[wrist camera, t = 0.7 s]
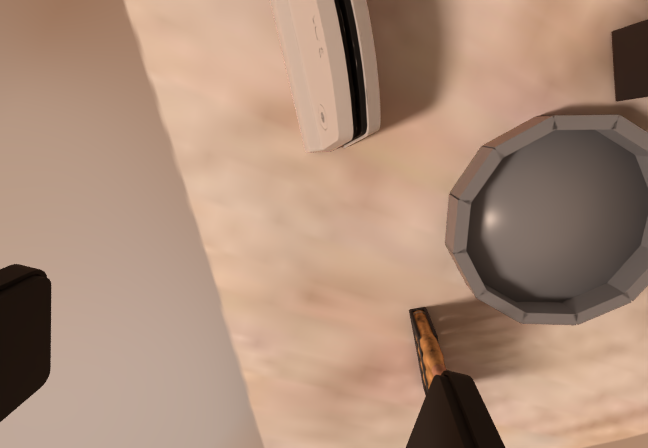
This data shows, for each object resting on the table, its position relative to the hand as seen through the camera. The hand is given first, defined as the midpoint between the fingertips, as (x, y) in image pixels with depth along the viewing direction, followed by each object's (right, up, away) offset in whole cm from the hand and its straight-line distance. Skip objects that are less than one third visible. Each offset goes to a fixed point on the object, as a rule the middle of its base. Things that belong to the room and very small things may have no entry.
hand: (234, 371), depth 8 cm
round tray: (+25, +4, +27) cm, 37 cm away
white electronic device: (+2, +19, +25) cm, 31 cm away
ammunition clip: (+14, -11, +32) cm, 37 cm away
